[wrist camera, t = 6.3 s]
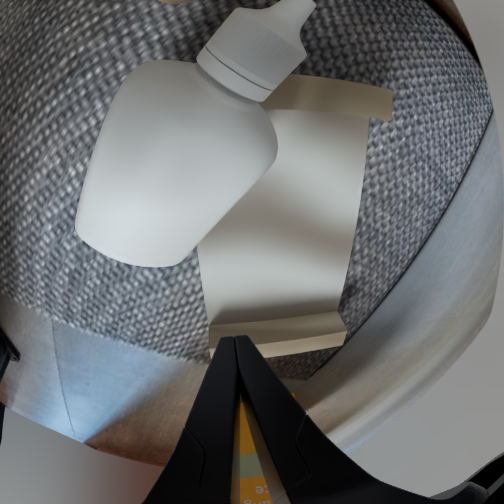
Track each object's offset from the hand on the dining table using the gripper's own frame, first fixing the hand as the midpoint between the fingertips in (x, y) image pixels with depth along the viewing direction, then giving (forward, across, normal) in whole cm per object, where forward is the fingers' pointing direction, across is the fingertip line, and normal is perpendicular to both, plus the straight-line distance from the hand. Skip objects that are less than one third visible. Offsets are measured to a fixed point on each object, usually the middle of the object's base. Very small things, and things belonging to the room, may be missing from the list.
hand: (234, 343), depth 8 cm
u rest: (+8, -3, 0) cm, 8 cm away
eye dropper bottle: (+6, +5, -1) cm, 8 cm away
